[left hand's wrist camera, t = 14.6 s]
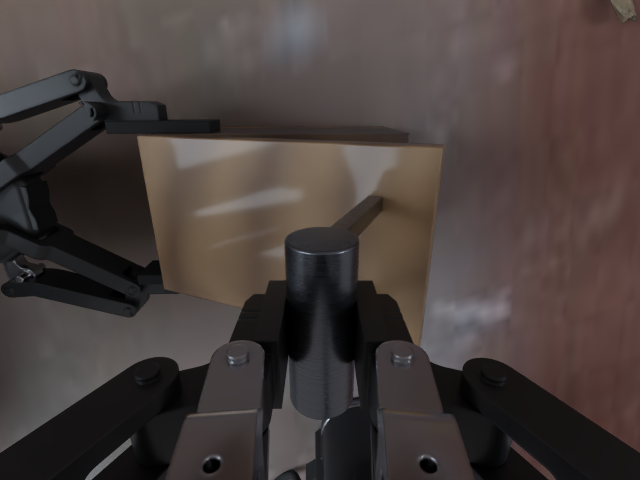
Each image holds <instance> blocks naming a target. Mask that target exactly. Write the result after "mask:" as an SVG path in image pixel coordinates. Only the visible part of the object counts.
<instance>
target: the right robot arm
mask: <svg viewBox="0 0 640 480" xmlns="http://www.w3.org/2000/svg"><path fill="white" fill-rule="evenodd" d="M107 86H108V84H107V80H106V79H105V77H104V76H103V75H101V74H98V73H93V72H87V71H81V70H75V69H73V70H68V71H65V72H63V73H60V74H57V75H54V76H51V77H48V78H46V79H43V80H40V81H37V82H34V83H31V84H29V85H26V86H23V87H20V88H17V89H14V90H12V91H9V92H6V93H3V94H0V130H2V129H3V126H2V124H1V123H13V122H17V121H21V120H24V119H26V118H29V117H32V116H35V115H38V114H41V113H44V112H47V111H50V110H53V109H56V108H59V107H61V106H64V105H67V104H70V103H73V102H76V101H79V100H82V101H81V102H79V104H84V105H83V106H81V107H80V108H78V109H77V110H76V111H74V112H73V113H72V114H70V115H69V116H67V117H66V118H65V119H63V120H62V121H60V122H59V123H58V124H56V125H55V126H54V127H52V128H51V129H49V130H48V131H47V132H45V133H44V134H42V135H41V136H40V137H38V138H37V139H36V140H34V141H33V142H31V143H30V144H29V145H27V146H26V147H25V148H23V149H22V150H20V151H19V152H18V153H16V154H14V155H12V156H9V157H8V156H7V155H5V154H3V153H2V152H0V263H2V265H3V267H4V269H5V272H6V274H7V276H8V279H9V281H8V282H6V283H4V284H3V285H2V286H1V291H2V292H3V294H4V295H6V296H8V297H27V296H36V297H41V298H45V299H50V300H54V301H58V302H63V303H67V304H71V305H76V306H80V307H85V308H89V309H93V310H98V311H102V312H106V313H111V314H115V315H120V316H124V317H133V316H134V315H135V314H136V313H137V312H138V311H139V310H140V309H141V308H142V306H143V305H144V304H145V303H146V302H147V301H148V299H149V297H150V295H149V294H172V293H173V294H180V293H178V292H174V291H170V290H166V289H164V284H163V279H162V273H161V268H160V262H159V260H153V261H152V262H151V263H150V264H149V265H148V266H147V267H145V268H144V267H142V266H139V265H137V264H135V263H133V262H131V261H129V260H127V259H124V258H122V257H120V256H118V255H116V254H114V253H112V252H109V251H107V250H105V249H103V248H101V247H99V246H97V245H95V244H92V243H90V242H88V241H86V240H84V239H82V238H80V237H77V236H75V235H74V233H73V231H72V230H71V229H69V228H67V227H65V226H63V225H61V224H58V223H56V222H58V220H57V217H56V213H55V211H54V209H53V207H52V205H51V204H50V202H49V188H48V185H47V181H42V180H41V178H40V177H41V176H43V175H44V174H45V173H47V172H48V171H50V170H51V169H53V168H54V167H55V166H56V165H55V164H56V163H58V162H59V161H61V160H62V159H64V158H65V157H67V156H68V155H69V154H71V153H72V152H74V151H75V150H77V149H78V148H79V147H81V146H82V145H84V144H85V143H87V142H88V141H89V140H91V139H92V138H94V137H95V136H97V135H98V134H99V133H101V132H102V131H104V130H105V129H106V130H107V134H154V133H212V132H217V131H221V129H220V120H168V118H167V112H166V105H164V104H162V103H159V102H149V101H121V102H120V101H117V100H115V99H114V98H113V97H112V96H111V94H110V93H109V91H108V89H107ZM45 237H46V238H45ZM23 255H27V256H29V257H32V258H34V259H37V260H50V261H52V262H54V263H56V264H59V265H61V266H63V267H65V268H68V269H70V270H72V271H74V272H77V273H74V272H70V271H65V270H61V269H53V268H46V266H45V265H44V264H43V263H39V264H34V263H30V262H28V261H27V260H26V259H25V258H24V256H23ZM78 273H79V274H78Z"/></svg>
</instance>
